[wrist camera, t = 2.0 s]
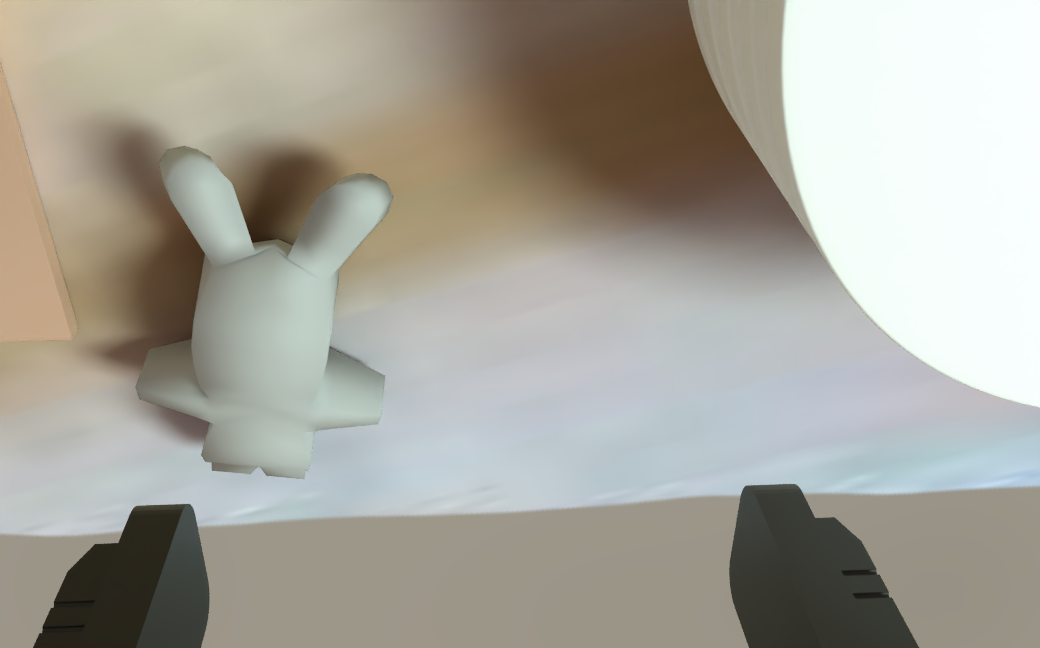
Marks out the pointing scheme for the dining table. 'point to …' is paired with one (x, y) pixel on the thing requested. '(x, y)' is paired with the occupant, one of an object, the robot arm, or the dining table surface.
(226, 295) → the bunny figurine
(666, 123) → the dining table surface
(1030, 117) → the plate stack
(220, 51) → the dining table surface
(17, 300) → the tile
